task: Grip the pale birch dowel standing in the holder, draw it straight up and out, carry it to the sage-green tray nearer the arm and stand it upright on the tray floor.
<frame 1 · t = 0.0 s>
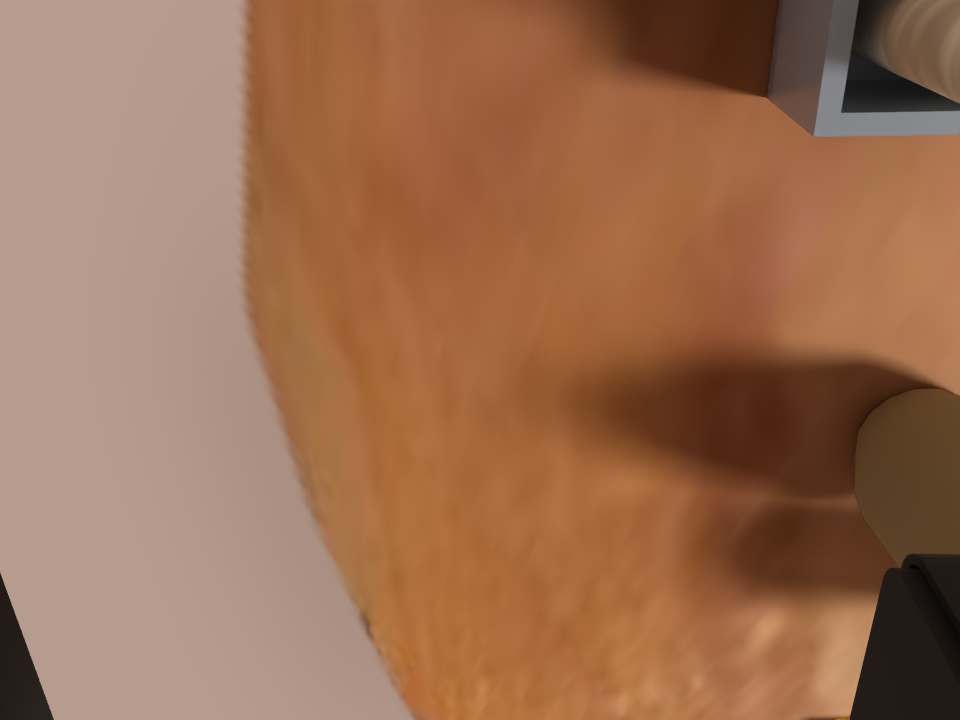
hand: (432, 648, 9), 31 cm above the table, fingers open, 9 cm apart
squeeze bottle: (913, 434, 44), on the table
holder: (861, 11, 35), on the table
dowel: (867, 13, 34), point 1 cm above the table, touching holder
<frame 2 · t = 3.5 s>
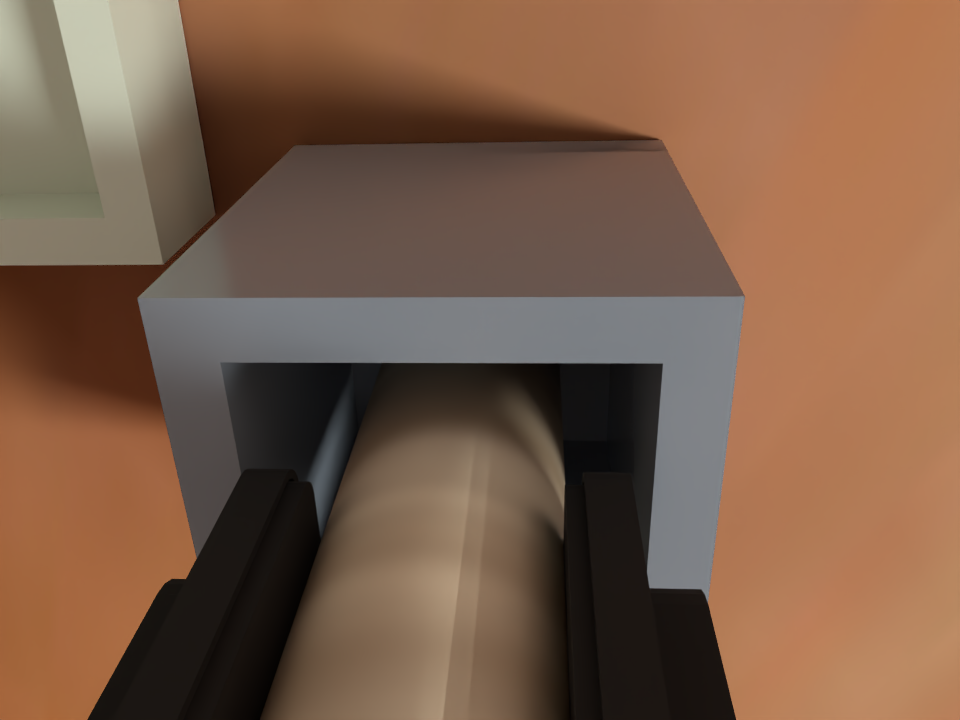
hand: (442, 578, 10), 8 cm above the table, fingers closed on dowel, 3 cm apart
holder: (480, 310, 17), on the table
dowel: (478, 328, 16), point 1 cm above the table, touching gripper, holder
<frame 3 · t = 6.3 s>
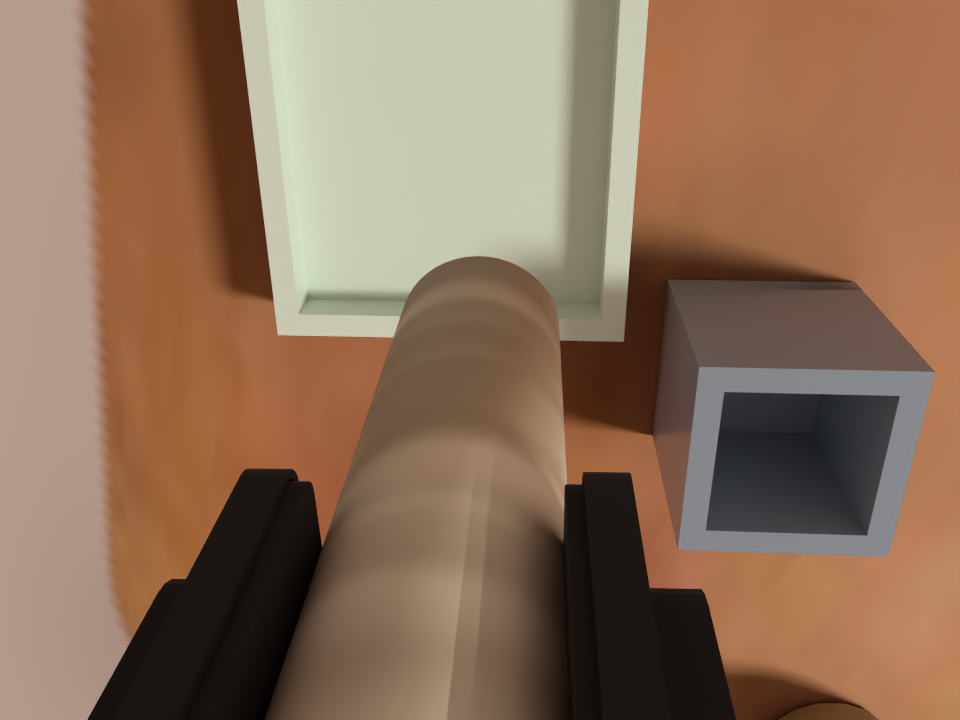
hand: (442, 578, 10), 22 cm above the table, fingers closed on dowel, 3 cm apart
holder: (748, 363, 33), on the table
dowel: (479, 330, 16), point 15 cm above the table, touching gripper
tray: (451, 117, 29), on the table
when the fingers open (9 cm above the table, at t = 9.2 s): dowel drops 1 cm, resting on tray.
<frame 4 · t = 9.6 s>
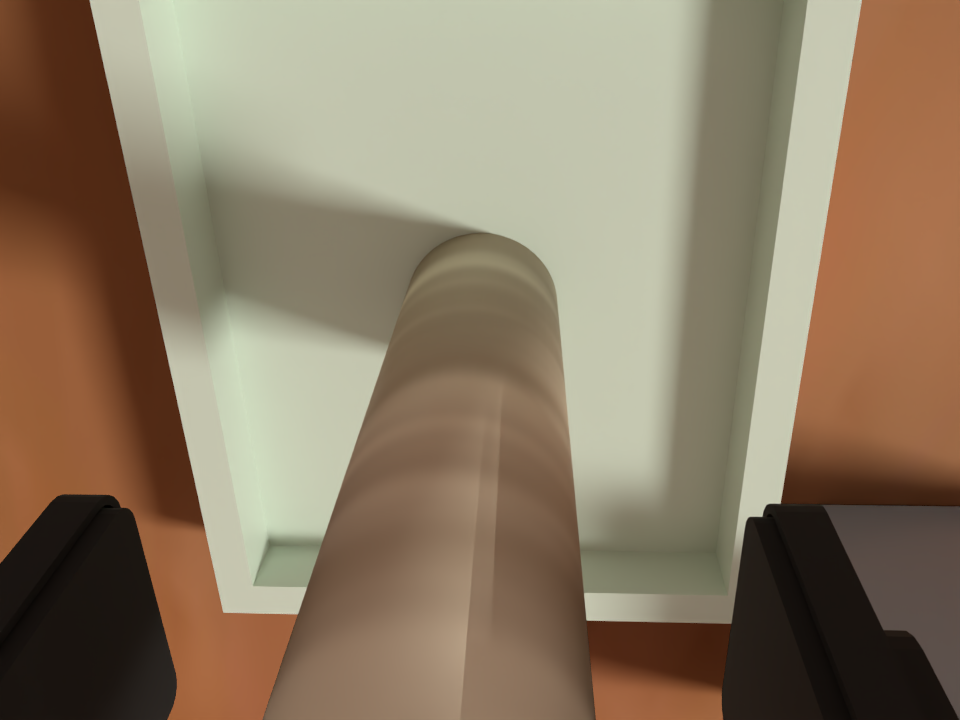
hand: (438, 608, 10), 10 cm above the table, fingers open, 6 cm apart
holder: (930, 612, 22), on the table
dowel: (481, 305, 17), point 1 cm above the table, touching tray
tray: (484, 282, 18), on the table
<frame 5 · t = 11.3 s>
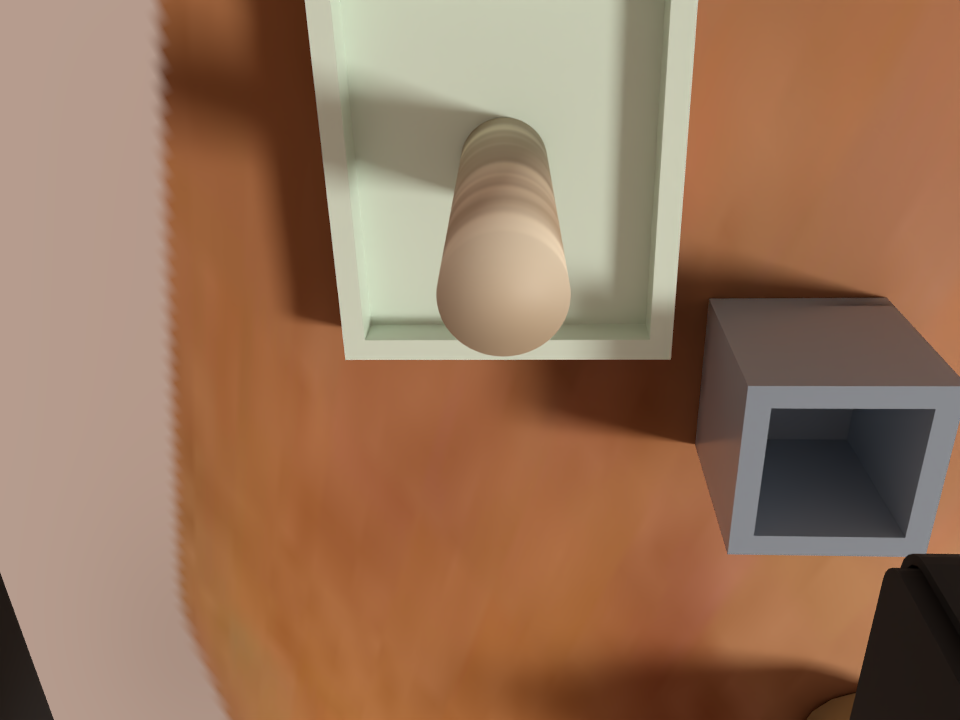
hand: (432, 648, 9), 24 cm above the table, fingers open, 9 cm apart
holder: (786, 374, 34), on the table
dowel: (503, 161, 30), point 1 cm above the table, touching tray
tray: (505, 153, 31), on the table
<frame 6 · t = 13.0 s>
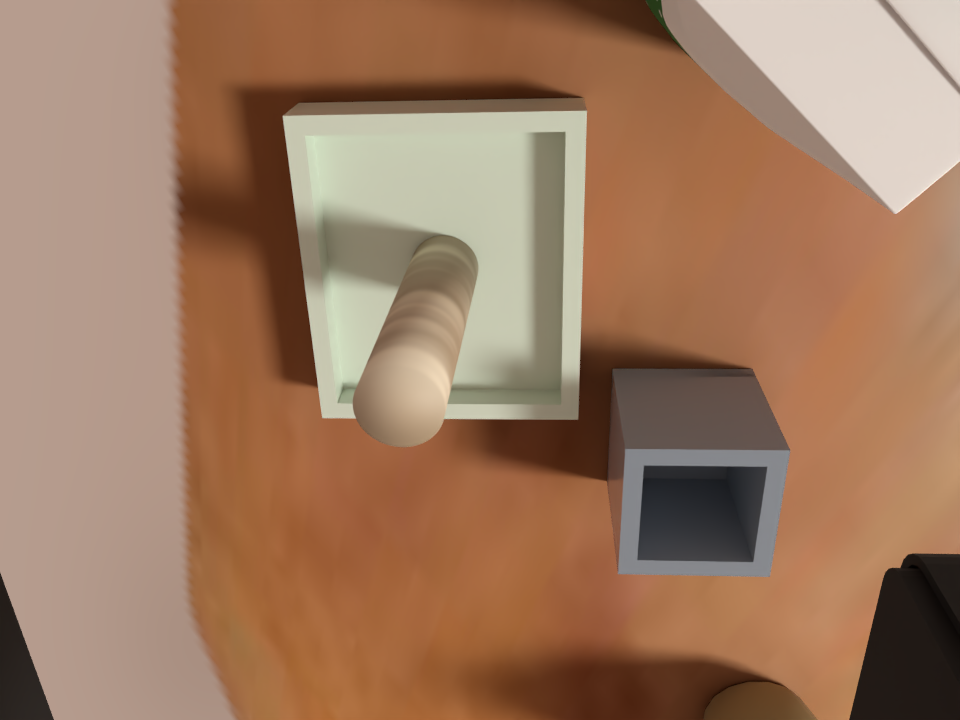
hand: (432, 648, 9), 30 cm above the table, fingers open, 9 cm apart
squeeze bottle: (752, 710, 52), on the table
holder: (676, 427, 43), on the table
dowel: (444, 267, 38), point 1 cm above the table, touching tray
tray: (447, 257, 40), on the table
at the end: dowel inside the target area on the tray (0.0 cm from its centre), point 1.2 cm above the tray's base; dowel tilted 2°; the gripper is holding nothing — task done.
